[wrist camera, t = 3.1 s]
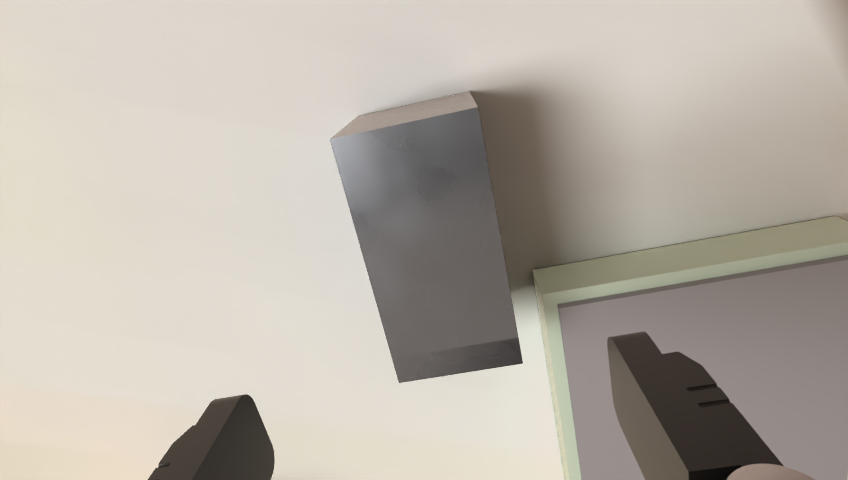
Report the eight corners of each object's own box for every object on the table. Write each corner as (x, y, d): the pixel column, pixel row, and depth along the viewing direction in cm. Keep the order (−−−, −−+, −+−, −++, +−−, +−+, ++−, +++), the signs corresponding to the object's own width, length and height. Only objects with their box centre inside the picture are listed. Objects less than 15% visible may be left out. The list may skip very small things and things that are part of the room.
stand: (532, 269, 24) (543, 298, 22) (835, 215, 23) (890, 239, 20) (564, 480, 29) (577, 526, 27) (816, 447, 28) (857, 492, 25)
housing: (358, 115, 22) (329, 139, 17) (469, 91, 22) (478, 107, 16) (408, 309, 26) (398, 382, 20) (505, 292, 25) (522, 363, 19)
